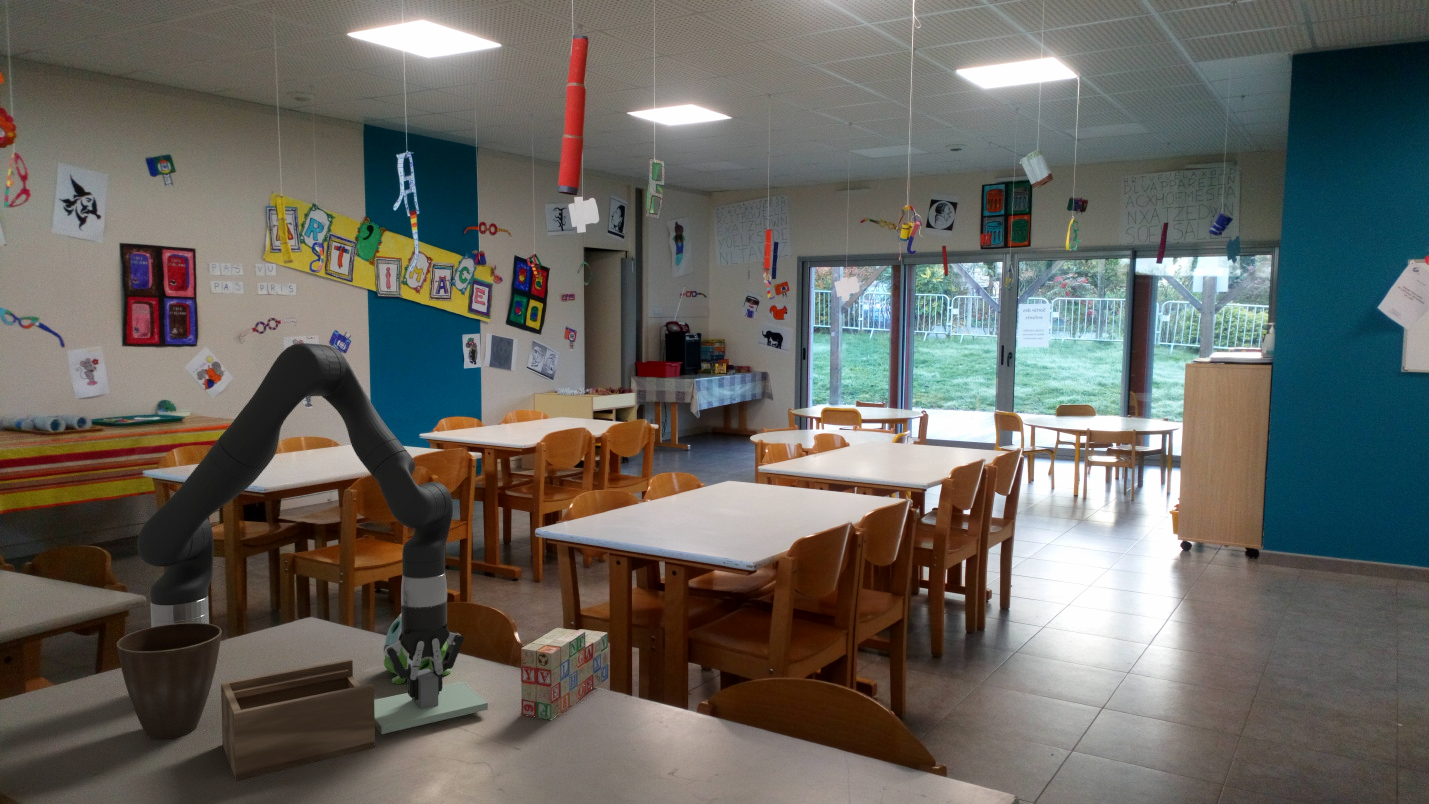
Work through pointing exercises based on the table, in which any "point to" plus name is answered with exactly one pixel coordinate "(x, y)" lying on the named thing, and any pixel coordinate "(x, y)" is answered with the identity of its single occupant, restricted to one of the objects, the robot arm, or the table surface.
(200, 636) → the plant pot
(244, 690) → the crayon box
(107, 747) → the table surface
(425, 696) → the lid
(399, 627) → the turtle holder
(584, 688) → the stack of blocks
